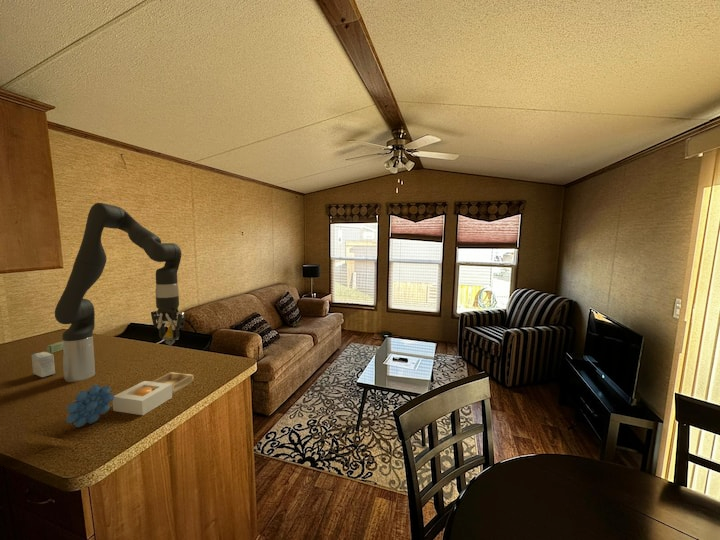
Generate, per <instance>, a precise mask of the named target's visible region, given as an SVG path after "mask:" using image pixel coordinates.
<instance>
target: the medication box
mask: <svg viewBox="0 0 720 540" xmlns="http://www.w3.org/2000/svg"><path fill="white" fill-rule="evenodd" d="M62 350H63V340H61V341H58V342H55V343H54V342H53V343H52V344H48V345H46V352H47V353H50V354H53V353H55V352H58V351H59V352H60V351H62Z"/></svg>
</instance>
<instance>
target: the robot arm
mask: <svg viewBox="0 0 720 540" xmlns="http://www.w3.org/2000/svg"><path fill="white" fill-rule="evenodd" d="M88 211H89V212H88V213H87V218H86V224H85V228H84V233H83V237H82V241H81V244H80V246H79V250H78V253H77V255H76V257H75V260H74V263H73V265H72V270H71V273H70V275H69V277H68V280H67V282H66V286H65V288H64V290H63V292H62V294H61V296H60V299H59V300H58V302H57V304H56V305H55V306H56V307H55V309H54V318H55V320H56V321H57V323H59V324H61V325H70V326H69V327H68V328H67V329H66V330H65V331H64V332H63V333H62V336H61V339H62V341H63V349H62V350H63V357H62V365H63V366H62V368H63V380H65V382H67V383H74V382H80V381H85V380H87V379H89V378H92V377H94V376H95V375H96V368H95V367H96V364H95V349H94V348H95V347H94V337H93V332H94V330H95V325H96V323H95V322H96V321H95V317H96V316H95V315H96V314H95V306H94V305H93V302H91V300H89V299H87V298H84V297H85V295H86V293H87V292H88V291H89V290H90V288H91V287H93V285H94V284H95V283H96V282H97V281H98V280H99V279H100V277H101V276H102V275H103V272H104V269H105V267H106V265H107V264H106V263H107V260H108V259H107V254H106V251H105V249H104V246H103V244H102V234H103V231H104V229H105V228H108V229H113V230H114V229H117V230H121V232H124V233H127V236H128V238H129V240H130V241H131V242H132V243H133V244H135V245H136V246H137V247H139V248H141V249H142V250H143V251H144V252H145V254H146V255H147V256H148V258H149V259H151V260H152V261H154V262H155V263H164V265H163V267H160V268H158V269H156V271H155V291H154V292H155V306H156V309H157V310H153V311H150V316H151V321H152V326H153V327H155V328H157V329H158V336H159V338H160V339H163V336H165V334H166V332H167V330H166V326H167V325H166V324H167V323H168V324H169V326H170V325H171V326H172V329H173V330H172V334H173V339H177V338H178V337H179V338H180V329H181V328H184V327H185V321H186V312H180V311H179V306H180V293H179V289H180V288H179V283H178V270H179V267H180V263H181V259H182V250H181V247H180V246H179V245H178V244H177V243H174V242H170V243H169V242H168V243H167V242H163V243H162V240H161V238H160V237H159V236H158V235H157V234H155V233H153V232H151V231H150V230H149V229H147V228H145V227H144V226H143V225H142V224H140V223H139V222H138V221H136V219H134V218H133V217H132V215H130V214H129V213H128V211H126V210H125V209H123V208H122V207H121V206H116V205H114V204H113V205H112V204H107V203H103V202H95V203H94V204H93V205H91V207H90V209H89V210H88Z"/></svg>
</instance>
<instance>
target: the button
mask: <svg viewBox="0 0 720 540" xmlns="http://www.w3.org/2000/svg"><path fill="white" fill-rule="evenodd" d="M151 391H152V388H151V387H144V388H140V389H138V390H136V391H135V395H137V396H144V395H146V394H148V393H150V392H151Z"/></svg>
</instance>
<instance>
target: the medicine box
mask: <svg viewBox="0 0 720 540" xmlns="http://www.w3.org/2000/svg"><path fill="white" fill-rule="evenodd" d="M31 364H32V373H33V374H34V375H36V376H37V377H40V378H45V377H48V376H51V375H55V374H56V370H55V369H56V368H55V367H56V366H55V357H54V354H53V353H47V351H41V352H37V353H34V354H31Z"/></svg>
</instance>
